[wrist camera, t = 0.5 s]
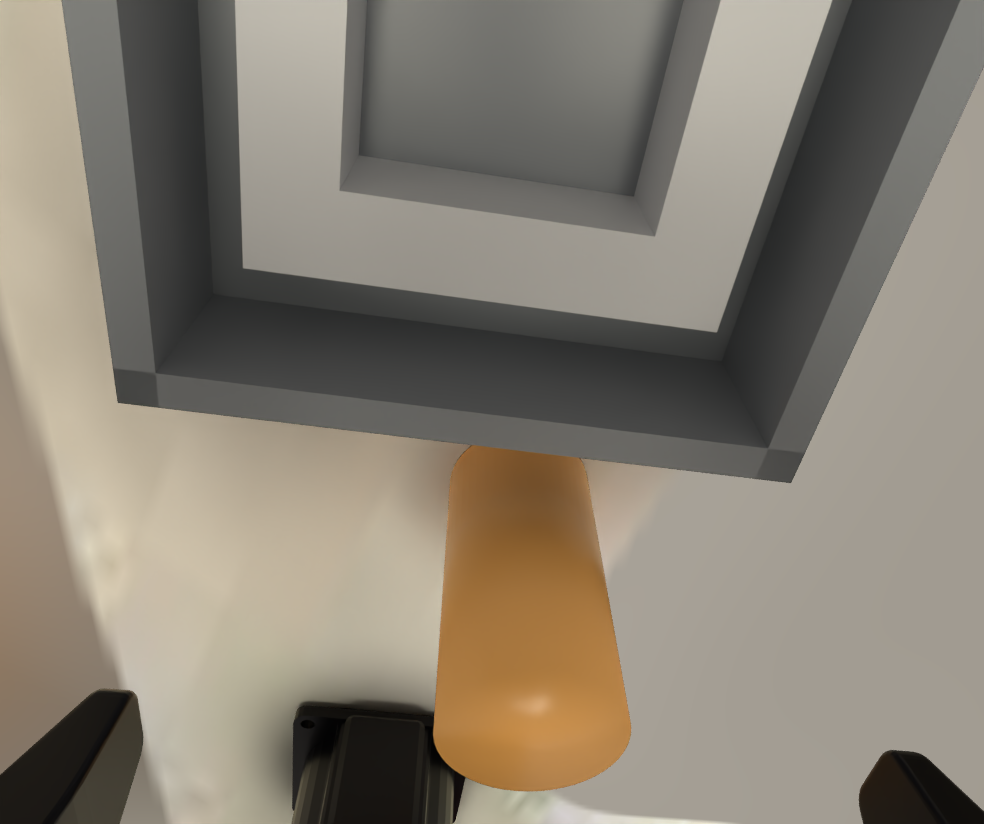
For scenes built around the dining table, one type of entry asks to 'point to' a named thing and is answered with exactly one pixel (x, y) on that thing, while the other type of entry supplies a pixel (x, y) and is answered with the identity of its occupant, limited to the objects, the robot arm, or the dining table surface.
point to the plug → (526, 627)
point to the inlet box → (511, 210)
